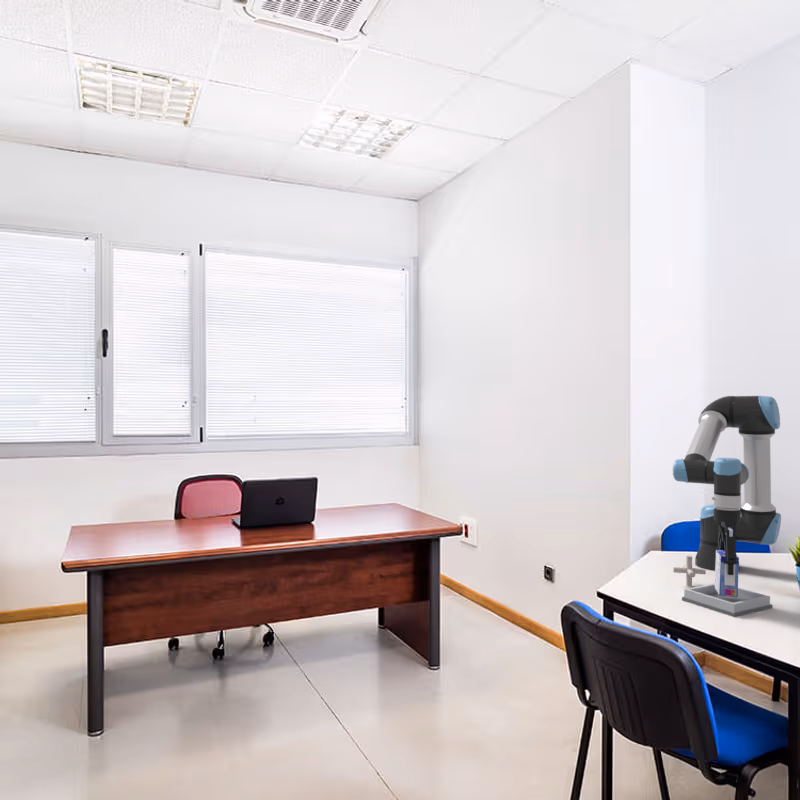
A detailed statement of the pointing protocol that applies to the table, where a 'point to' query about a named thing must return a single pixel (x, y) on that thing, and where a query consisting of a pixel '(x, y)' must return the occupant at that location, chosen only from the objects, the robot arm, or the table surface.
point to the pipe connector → (689, 570)
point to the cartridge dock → (727, 600)
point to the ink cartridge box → (720, 576)
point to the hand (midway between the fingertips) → (726, 580)
